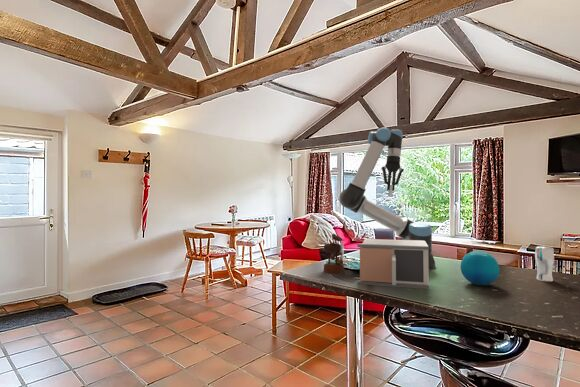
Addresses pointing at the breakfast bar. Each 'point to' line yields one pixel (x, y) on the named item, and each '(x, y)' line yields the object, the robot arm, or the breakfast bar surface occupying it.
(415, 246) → the sliding door cabinet
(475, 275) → the decorative orb
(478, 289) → the breakfast bar surface
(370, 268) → the side door
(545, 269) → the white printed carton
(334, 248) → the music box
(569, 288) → the breakfast bar surface
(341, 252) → the screw
